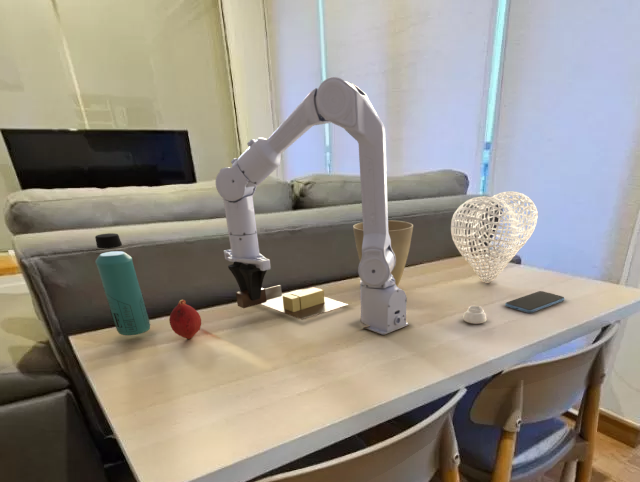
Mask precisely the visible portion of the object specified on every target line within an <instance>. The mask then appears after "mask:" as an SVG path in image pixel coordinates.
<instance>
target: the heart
mask: <svg viewBox="0 0 640 482" xmlns="http://www.w3.org/2000/svg"><path fill="white" fill-rule="evenodd" d="M511 201H512V202H511ZM525 204H526V205H525ZM497 206H498V207H497ZM502 209H503V210H502ZM495 211H496V212H495ZM486 214H487V215H486ZM496 218H497V219H498V221H495V219H496ZM538 218H539V213H538V208H537V206H536V205H535V203H534V201H533V200H532V199H531V198H530V197H529V196H528V195H526V194H524V193H522V192H519V191H512V190H511V191H510V190H509V191H508V190H507V191H502V192H499V193H496V194H494V195H492V196H486V195H485V196H484V195H483V196H475V197H472V198H470V199H467V200H465V201H464V202H463V203H461V204H460V205H459V206H458V207H457V209H455V211H454V213H453V215H452V217H451V220H450V221H451V222H450V233H451V239H452V241H453V244H454V245H455V248H456V249H457V250H458V252H459V254H460V255H461V257H462V258H463V259H464V260H465V261H466V262H467V264H468V265H469V266H470V268H471V269H472V270H473V272H474V273H475V275H476V277H478V279H479V280H480V281H481V282H483V283H485V284H490V283H491V282H493V281H495V280H496V279H497V278H498V277H499V275H501V273H502V272H503V271H504V269H505V268H506V267H507V266H508V264H509V263H510V262H511V261H512V259H514V257H515V256H516V255H517V254H518V252H519V251H520V250H521V249H522V248H523V247H524V246H525V245H526V243H527V242H528V241H529V239H530V238H531V237H532V235H533V233H534V232H535V229H536V226H537V223H538ZM490 219H491V220H490ZM483 223H484V224H483ZM494 226H496V227H494ZM499 227H501V228H499ZM493 230H494V231H493ZM499 231H500V232H499ZM484 235H485V236H484ZM491 236H493V237H491ZM492 242H493V243H492ZM485 243H486V244H487V245H486V244H485ZM490 248H491V249H490ZM471 250H472V251H471ZM488 258H489V259H488Z"/></svg>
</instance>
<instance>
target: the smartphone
mask: <svg viewBox="0 0 640 482" xmlns="http://www.w3.org/2000/svg"><path fill="white" fill-rule="evenodd" d="M563 301H565V297H564V296H563V295H559V294H554V293H551V292H546V291H543V290H538V291H535V292H533V293H530V294H527V295H524V296H521V297H518V298H516V299H512V300H509V301H507V302H505V303H504V306H505V307H507V308H511V309H513V310H517V311H520V312H523V313H528V314H531V313H535V312H537V311H540V310H543V309H545V308H548V307H550V306H554V305H556V304H558V303H561V302H563Z"/></svg>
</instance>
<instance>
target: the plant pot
mask: <svg viewBox="0 0 640 482" xmlns="http://www.w3.org/2000/svg"><path fill="white" fill-rule="evenodd" d="M352 229H353V230H352V231H353V236H354V242H355V247H356V251H357V255H358V260H359V262H360V261H361V258H362V243H363V236H364V235H363V221H362V222H358V223H355V224H353V226H352ZM413 229H414V224H413V223H412V222H407V221H404V220H403V221H402V220H389V219H388V232H389V236H390V239H391V248H392V250H393V252H394V254H395V257H396V264H395V267H394V269H393V270H392V272H391V274H392V275H393V277H394V279H395V284H396V286H397V287H398V288H399V285H400V283H401V280H402V277H403V275H404V271H405V267H406V265H407V261H408V256H409V252H410V248H411V243H412V242H411V241H412V237H413Z"/></svg>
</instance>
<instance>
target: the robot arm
mask: <svg viewBox="0 0 640 482" xmlns="http://www.w3.org/2000/svg"><path fill="white" fill-rule="evenodd" d="M327 124H334V125H336V126H338V127H340V128H342V129H344V131H346V132H347V133H348V134H349V135H350V136H351V137H352V138H353V139H354V140H355V141H357V144H358V158H359V160H358V162H359V176H360V177H359V179H360V195H361V198H360V199H361V215H362V222H363V235H364V236H363V243H362V258H361V261H360V260H359V263H358V267H357V272H358V277H359V279H360V280H359V292H360V293H359V295H360V296H359V298H360V299H359V301H360V322H361V323H362V324H363V325H366V326H364V327H363V329H365V330H367V331H371V332H373V333H376V334H379V335H382V336H384V335H387V334H390V333H392V332H395V331H398V330H400V329H402V328H405V327H408V326H409V323H408V322H407V306H408V305H407V303H408V302H407V301H408V300H407V299H408V297H407V293H406V292H405V290H403V289H402V288H400V287H399V286H398V287H397V286H396V284H395V279H394V277H393V275H392V274H391V272H392V270H393V269H394V267H395V264H396V257H395V254H394V252H393V250H392V248H391V239H390V236H389V232H388V220H389V212H388V211H389V208H388V204H389V203H388V171H387V138H386V137H387V136H386V127H385V125H384V123H383V121H382V119H381V118H380V116H379V114H378V112H377V110H376V109H375V107H374V106H373V104H372V102H371V101H370V99H369V97H368V95H367V93H366V92H364V91H363V90H362V89H360V88H359V86H357V85H355V84H354V83H352V82H349V81H346V80H344V79H343V78H342V77H341V78H340V77H338V76H331V77H330V76H329V77H327V78H326V79H324V80H323V81H322V82H321V83H320V85H319V86H318V88H317V87H316V88H314V89H313V90H311V91H310V92H309V93H308V94H307V95H305V97H304V99H303V100H302V101H301V102H300V103H299V104H298V105H297V106H296V107H295V108H294V109H293V111H292V112H290V114H289V115H288V116H287V117H286V119H284V120H283V121H282V123H280V125H279V126H278V127H277V128H276V129H275V130H274V131H273V132H272V133H271V135H270V136H269V137H268V138H265V137H258V138H256V139H255V138H253V139H250V140H249V141H248V142H247V146H248V147H247V148H246V149H245V151H244V152H242V153H241V154H240V156H239V157H238V158H237V157H234V158H232V160H231V161H230V163H231V166H225V167H222V168H220V169H219V172H218V173H217V175H216V177H215V188H216V192H217V193H218V195H219V196H220V197H221V198H222V200H223V206H224V214H225V219H226V226H227V233H228V240H229V246H230V249H225V250H223V254H224V260H226V261H228V262H230V263H232V264H228V266H227V267H228V270H229V271H230V273H231V274H232V275H233V277H234V279H235V280H236V283H237V285H238V287H239V290H240V291H244V290H248V293H249V296H250V299H251V300H257V299H260V297H261V289H262V288H263V282H264V280H265V276H266V273H267V271H268V270H271V268H272V267H271V266H272V265H271V260H270V259H269V258H267V257H265V256H264V255H263V254H261V253H260V246H259V237H258V230H257V221H256V212H255V206H254V195H255V194H256V191H257V187H259V185H261V184H262V183H263V182H264V181H265V180H267V178H268V177H269V176H270V175H271V174H272V173H273V172H275V170H277V168H279V167H280V165H281V160H282V159H281V157H282V153H283V152H285V151H286V150H287V149H288V148H289V147H290V146H292V145H293V144H294V143H295V142H297V141H298V139H300V138H301V137H302V136H303V135H305V133H307V132H308V131H309V130H310V129H311V128H312V127H315V126H319V125H327Z"/></svg>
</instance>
